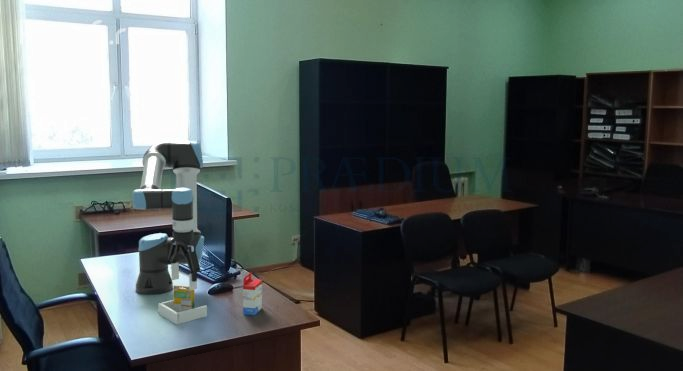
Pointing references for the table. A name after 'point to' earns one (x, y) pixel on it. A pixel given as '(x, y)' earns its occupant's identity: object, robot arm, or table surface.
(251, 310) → the ink box
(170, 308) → the tray
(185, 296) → the crayon box
